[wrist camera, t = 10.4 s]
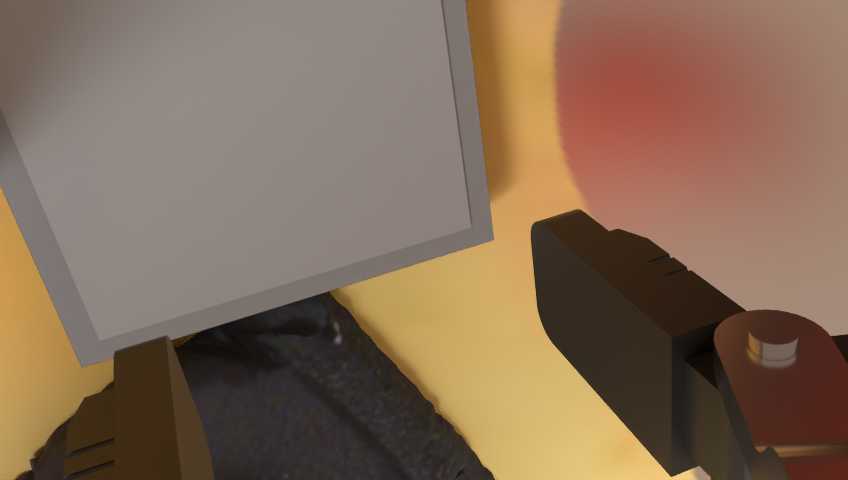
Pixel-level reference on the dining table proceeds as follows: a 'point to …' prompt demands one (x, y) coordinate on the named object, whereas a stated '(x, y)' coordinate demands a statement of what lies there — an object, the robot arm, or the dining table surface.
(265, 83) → the slate board
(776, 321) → the robot arm
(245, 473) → the dark slate chunk
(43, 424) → the dining table surface
